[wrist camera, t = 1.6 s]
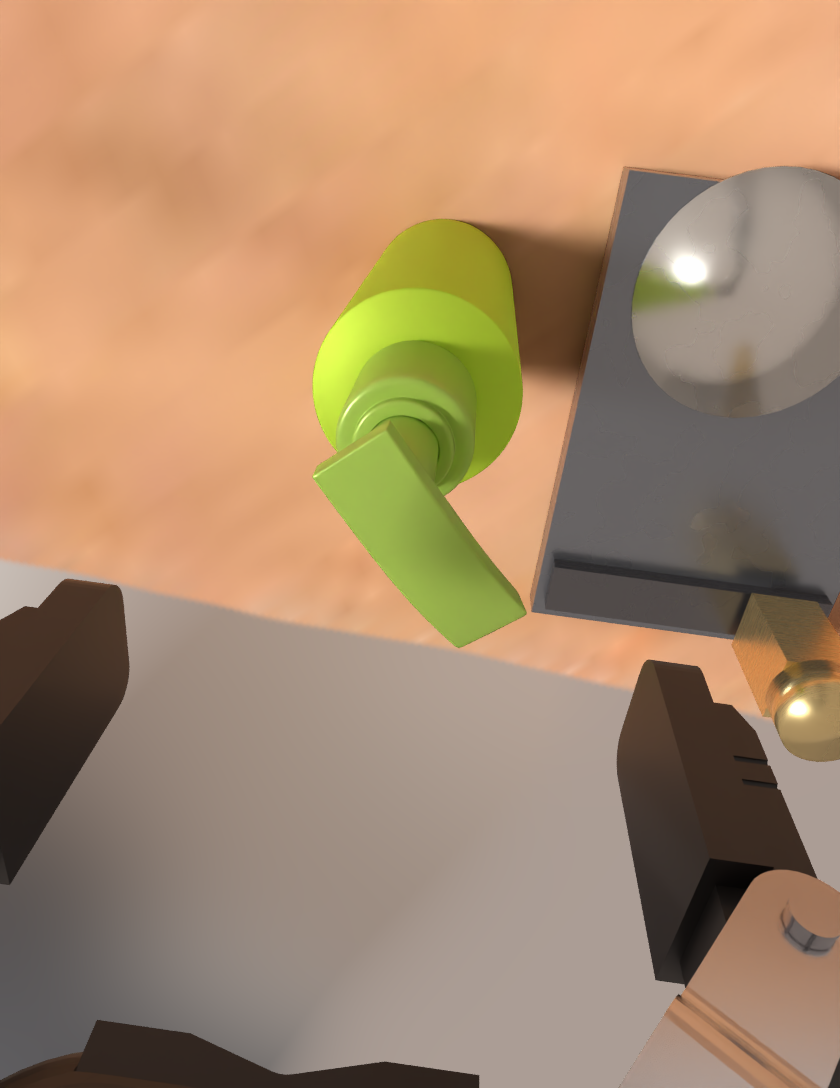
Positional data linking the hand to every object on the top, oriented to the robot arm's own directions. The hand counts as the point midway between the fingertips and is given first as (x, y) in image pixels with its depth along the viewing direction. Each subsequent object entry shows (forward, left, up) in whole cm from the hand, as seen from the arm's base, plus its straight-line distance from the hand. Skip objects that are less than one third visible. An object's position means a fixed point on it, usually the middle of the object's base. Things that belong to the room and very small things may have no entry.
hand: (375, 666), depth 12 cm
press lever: (+12, +17, -22) cm, 30 cm away
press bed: (+4, +13, -25) cm, 28 cm away
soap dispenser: (0, 0, -25) cm, 25 cm away
